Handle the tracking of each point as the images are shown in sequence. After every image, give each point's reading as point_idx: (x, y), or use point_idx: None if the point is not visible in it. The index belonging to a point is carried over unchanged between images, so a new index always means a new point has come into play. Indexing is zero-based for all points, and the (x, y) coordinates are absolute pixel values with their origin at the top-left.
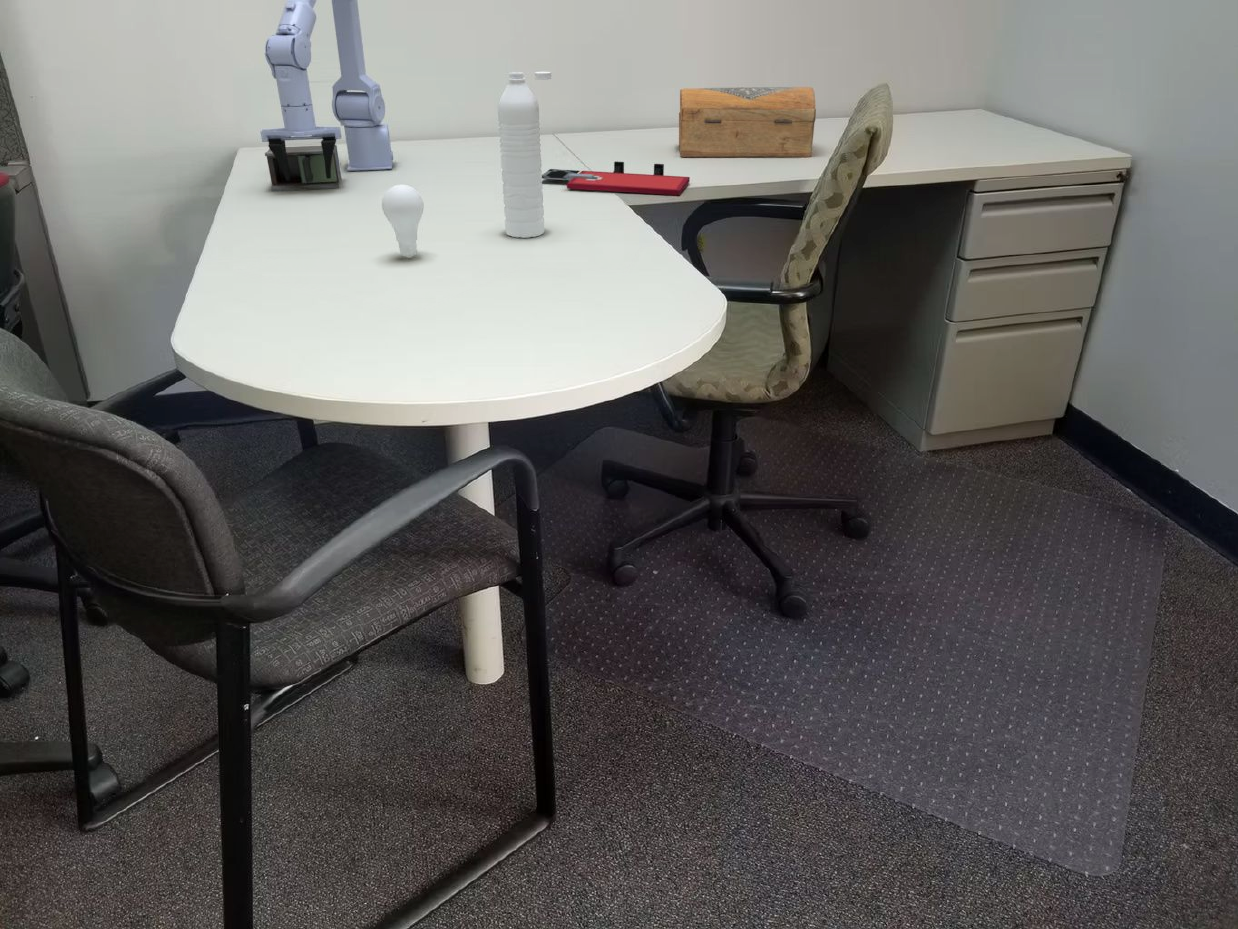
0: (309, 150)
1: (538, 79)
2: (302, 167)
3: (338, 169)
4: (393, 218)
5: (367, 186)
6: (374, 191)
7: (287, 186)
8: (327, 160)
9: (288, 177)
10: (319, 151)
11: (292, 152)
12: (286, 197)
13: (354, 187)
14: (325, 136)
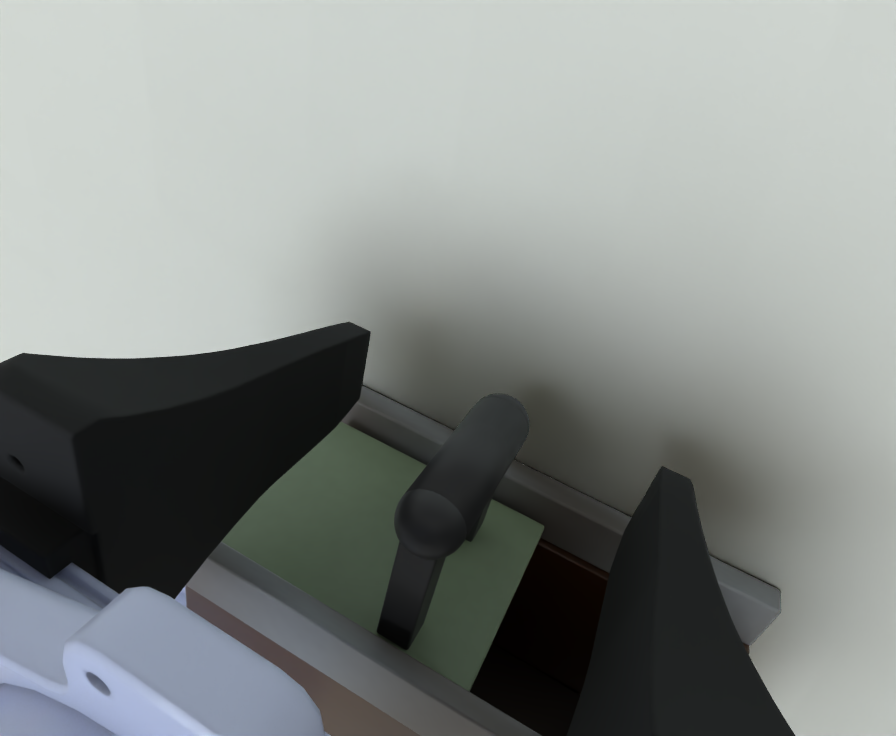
0: (347, 681)
1: None
2: (486, 598)
3: None
4: None
5: (215, 318)
6: (170, 158)
7: None
8: (238, 361)
9: (668, 477)
10: (272, 595)
11: (496, 734)
12: (762, 332)
13: (276, 339)
14: (17, 564)
